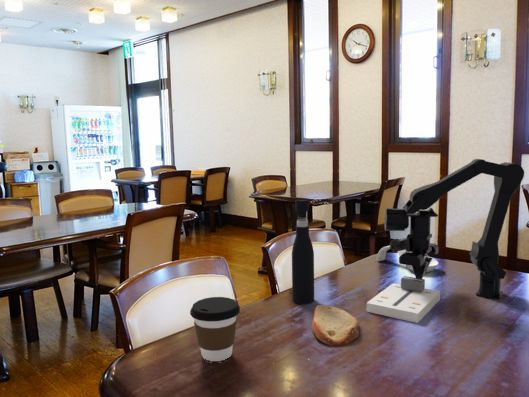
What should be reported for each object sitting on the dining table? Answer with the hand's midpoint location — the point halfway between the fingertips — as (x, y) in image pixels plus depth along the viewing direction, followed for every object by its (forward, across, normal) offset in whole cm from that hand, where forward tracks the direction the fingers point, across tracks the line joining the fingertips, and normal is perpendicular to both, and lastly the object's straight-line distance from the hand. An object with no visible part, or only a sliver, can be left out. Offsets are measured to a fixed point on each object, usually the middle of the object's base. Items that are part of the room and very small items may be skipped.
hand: (418, 281), depth 138 cm
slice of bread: (+4, +37, -10) cm, 39 cm away
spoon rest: (+4, -25, -13) cm, 28 cm away
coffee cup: (+4, +65, -24) cm, 69 cm away
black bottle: (+4, +25, -26) cm, 36 cm away
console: (+4, +13, 0) cm, 13 cm away
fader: (+1, +6, 0) cm, 6 cm away
